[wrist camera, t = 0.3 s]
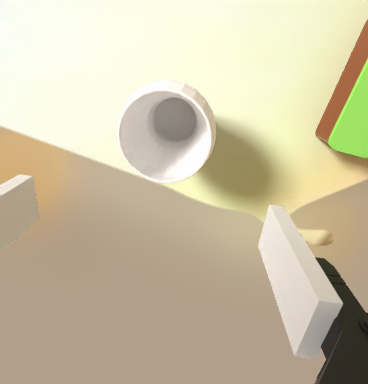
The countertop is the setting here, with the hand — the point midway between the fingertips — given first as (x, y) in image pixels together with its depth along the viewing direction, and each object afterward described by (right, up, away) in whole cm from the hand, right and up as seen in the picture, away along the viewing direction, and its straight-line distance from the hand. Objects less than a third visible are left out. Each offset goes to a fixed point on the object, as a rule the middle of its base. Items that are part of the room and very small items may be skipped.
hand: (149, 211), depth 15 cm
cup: (+1, +13, +25) cm, 28 cm away
